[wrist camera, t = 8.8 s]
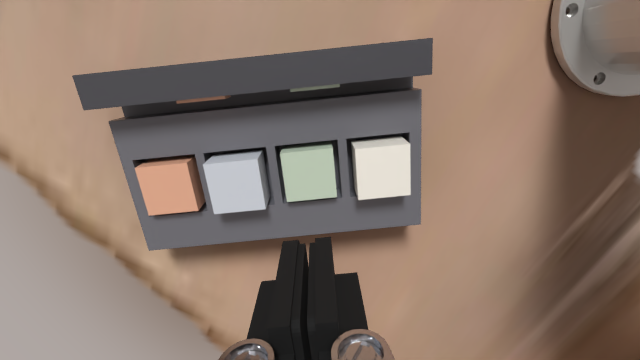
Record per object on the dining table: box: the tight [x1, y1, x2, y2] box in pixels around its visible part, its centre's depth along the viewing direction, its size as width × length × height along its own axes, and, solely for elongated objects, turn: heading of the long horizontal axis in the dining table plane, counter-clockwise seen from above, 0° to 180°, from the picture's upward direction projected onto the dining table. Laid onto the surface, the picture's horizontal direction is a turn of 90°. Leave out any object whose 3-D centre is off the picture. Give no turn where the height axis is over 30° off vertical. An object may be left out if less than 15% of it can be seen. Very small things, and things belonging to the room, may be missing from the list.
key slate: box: [203, 150, 270, 214], centre depth 23 cm, size 4×4×2 cm
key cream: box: [351, 136, 411, 200], centre depth 23 cm, size 4×4×2 cm
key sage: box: [280, 141, 337, 202], centre depth 24 cm, size 4×4×2 cm
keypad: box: [72, 38, 433, 251], centre depth 24 cm, size 21×13×6 cm, turn 96°
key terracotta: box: [135, 154, 206, 216], centre depth 24 cm, size 4×4×2 cm
